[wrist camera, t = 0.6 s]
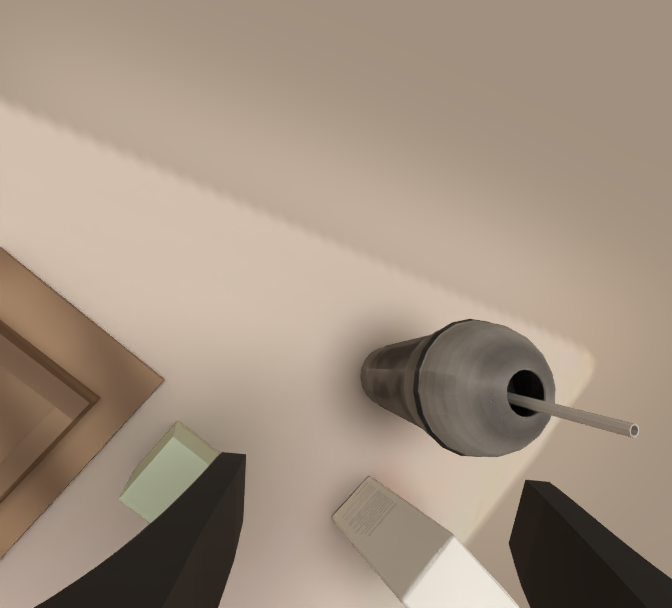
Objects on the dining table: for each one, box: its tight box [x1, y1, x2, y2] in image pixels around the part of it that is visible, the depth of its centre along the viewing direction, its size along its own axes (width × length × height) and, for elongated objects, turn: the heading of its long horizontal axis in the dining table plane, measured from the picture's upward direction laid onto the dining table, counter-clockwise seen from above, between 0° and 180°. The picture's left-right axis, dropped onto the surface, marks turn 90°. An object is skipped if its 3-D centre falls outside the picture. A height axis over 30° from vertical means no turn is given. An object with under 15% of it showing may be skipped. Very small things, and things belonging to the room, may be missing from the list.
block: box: [118, 421, 219, 523], centre depth 27 cm, size 4×4×6 cm
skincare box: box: [332, 476, 519, 608], centre depth 28 cm, size 6×4×12 cm
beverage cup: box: [361, 319, 639, 457], centre depth 25 cm, size 7×7×20 cm
